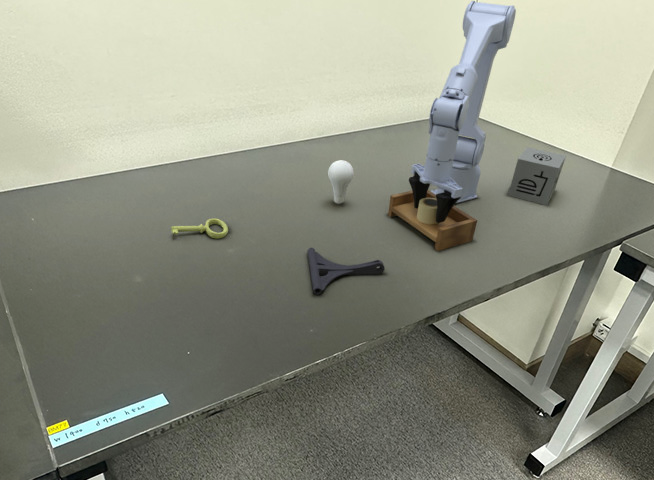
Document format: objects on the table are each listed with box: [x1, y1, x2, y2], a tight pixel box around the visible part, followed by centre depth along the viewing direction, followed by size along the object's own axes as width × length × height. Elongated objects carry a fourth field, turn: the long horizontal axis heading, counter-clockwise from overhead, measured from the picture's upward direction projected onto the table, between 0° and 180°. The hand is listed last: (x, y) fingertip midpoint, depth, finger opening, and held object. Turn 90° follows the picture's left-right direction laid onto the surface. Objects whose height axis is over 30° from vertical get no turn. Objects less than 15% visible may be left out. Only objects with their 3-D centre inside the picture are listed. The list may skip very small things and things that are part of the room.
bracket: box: [307, 247, 385, 296], centre depth 106 cm, size 14×15×3 cm
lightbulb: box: [327, 159, 355, 205], centre depth 128 cm, size 6×6×11 cm
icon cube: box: [507, 146, 567, 206], centre depth 138 cm, size 10×10×10 cm
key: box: [170, 217, 229, 239], centre depth 116 cm, size 7×12×2 cm, turn 126°
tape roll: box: [417, 198, 437, 224], centre depth 120 cm, size 5×5×4 cm
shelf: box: [387, 189, 478, 252], centre depth 122 cm, size 10×18×5 cm, turn 31°
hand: (429, 214), depth 120 cm, fingers open, 7 cm apart
